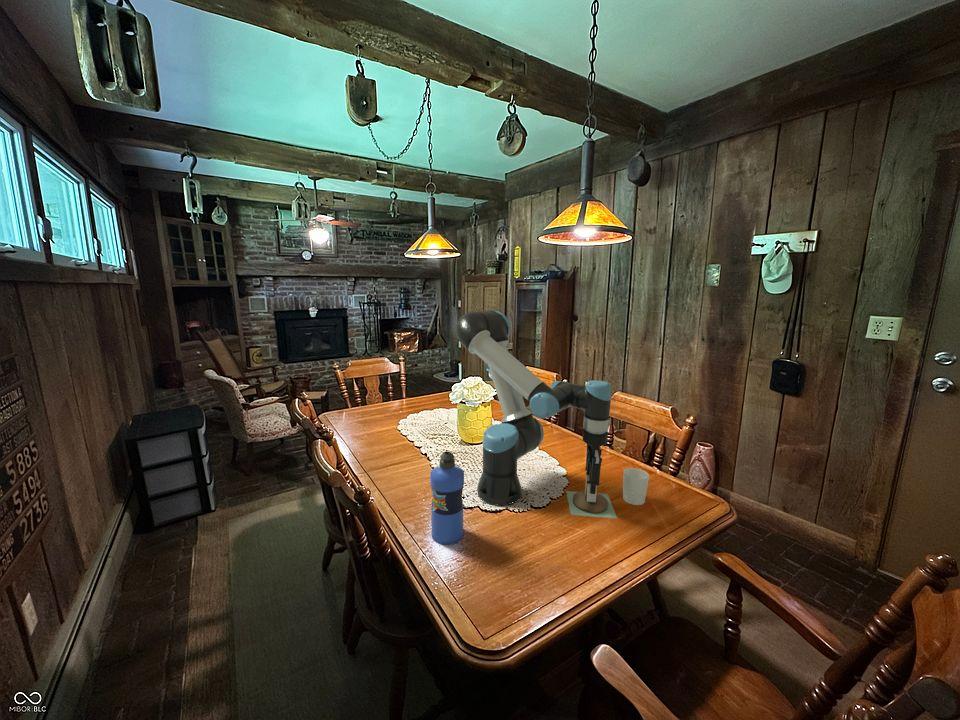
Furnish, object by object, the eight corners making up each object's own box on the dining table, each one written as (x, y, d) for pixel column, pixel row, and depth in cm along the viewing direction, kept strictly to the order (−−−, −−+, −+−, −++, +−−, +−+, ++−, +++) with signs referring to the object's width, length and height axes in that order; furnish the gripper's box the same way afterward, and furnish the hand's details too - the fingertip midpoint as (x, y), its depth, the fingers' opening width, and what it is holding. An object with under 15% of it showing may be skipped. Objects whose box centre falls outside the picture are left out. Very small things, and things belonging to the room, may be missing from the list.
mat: (570, 516, 116) (570, 514, 116) (566, 492, 130) (566, 490, 129) (617, 520, 114) (617, 518, 114) (607, 495, 128) (607, 494, 128)
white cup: (619, 503, 123) (622, 475, 121) (622, 492, 130) (625, 465, 128) (645, 510, 120) (648, 481, 118) (647, 498, 127) (650, 471, 125)
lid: (574, 511, 117) (576, 484, 115) (570, 492, 128) (572, 468, 126) (610, 514, 116) (613, 487, 114) (603, 495, 127) (605, 470, 125)
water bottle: (447, 520, 113) (446, 442, 109) (470, 533, 107) (471, 451, 103) (424, 535, 106) (422, 453, 101) (447, 550, 100) (447, 463, 96)
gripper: (613, 440, 109) (607, 513, 113) (602, 421, 124) (597, 486, 129) (587, 439, 110) (581, 511, 114) (579, 420, 125) (575, 484, 130)
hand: (590, 497), depth 121 cm, fingers closed on lid, 3 cm apart
